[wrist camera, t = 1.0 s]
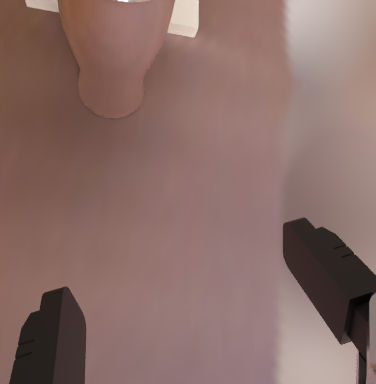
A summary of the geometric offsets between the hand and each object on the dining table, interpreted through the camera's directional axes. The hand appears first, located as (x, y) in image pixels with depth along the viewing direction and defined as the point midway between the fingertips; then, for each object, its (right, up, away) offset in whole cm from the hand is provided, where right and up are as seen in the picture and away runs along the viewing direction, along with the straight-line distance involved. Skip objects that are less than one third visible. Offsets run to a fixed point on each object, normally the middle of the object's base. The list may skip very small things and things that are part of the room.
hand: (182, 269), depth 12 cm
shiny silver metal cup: (-7, +13, +19) cm, 24 cm away
